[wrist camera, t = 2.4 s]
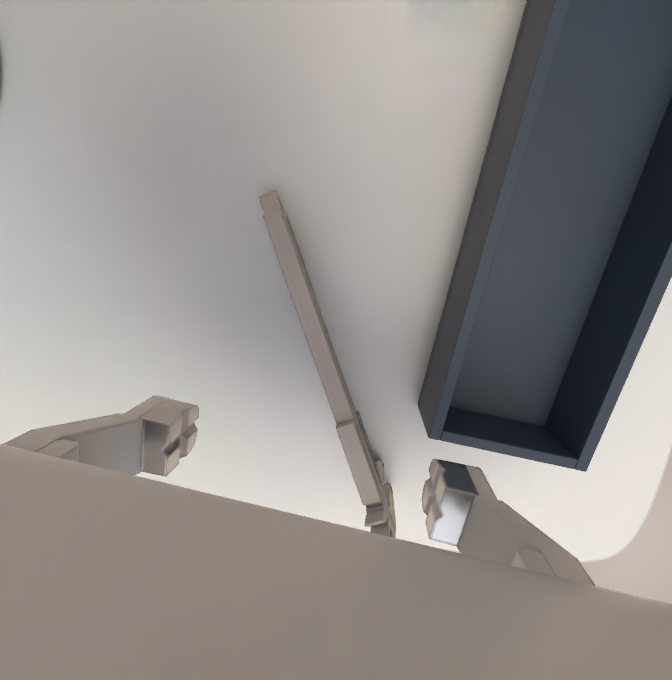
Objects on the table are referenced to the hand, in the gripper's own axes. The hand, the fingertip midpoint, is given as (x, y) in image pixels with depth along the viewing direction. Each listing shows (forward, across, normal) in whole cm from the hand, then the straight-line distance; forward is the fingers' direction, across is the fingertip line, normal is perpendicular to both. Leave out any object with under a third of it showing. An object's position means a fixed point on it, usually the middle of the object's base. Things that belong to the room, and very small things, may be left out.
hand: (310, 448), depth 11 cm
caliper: (+10, 0, 0) cm, 11 cm away
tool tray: (+10, -10, -10) cm, 17 cm away
